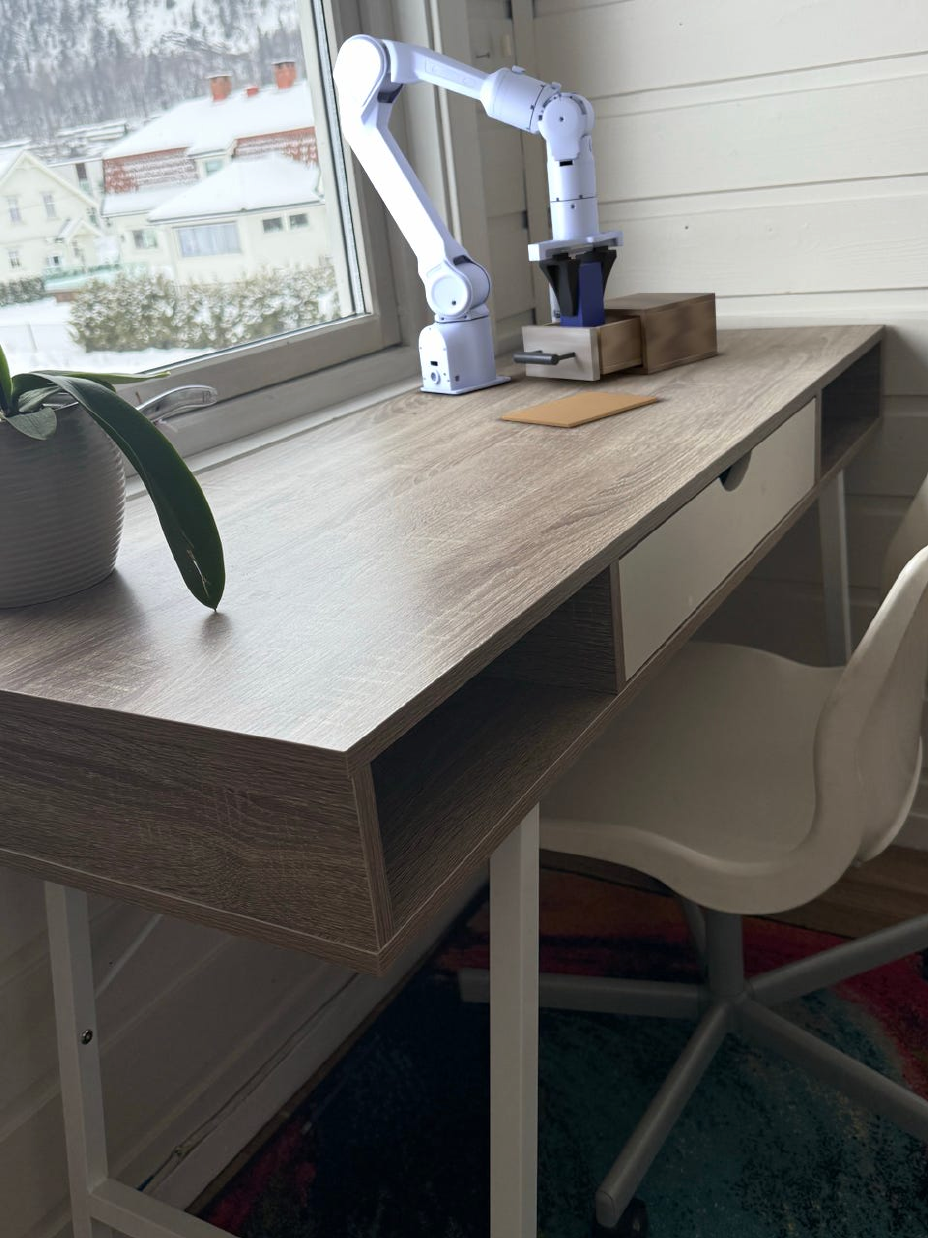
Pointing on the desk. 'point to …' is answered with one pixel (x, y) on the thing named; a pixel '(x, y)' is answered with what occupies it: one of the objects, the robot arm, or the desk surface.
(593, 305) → the navy block
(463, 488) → the desk surface
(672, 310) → the cabinet
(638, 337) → the drawer
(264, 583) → the desk surface
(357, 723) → the desk surface
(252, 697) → the desk surface
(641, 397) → the cork pad
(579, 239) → the robot arm
